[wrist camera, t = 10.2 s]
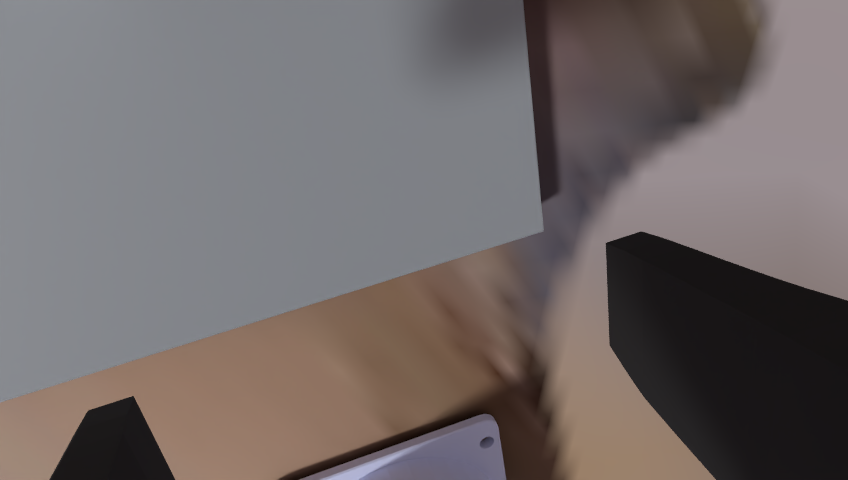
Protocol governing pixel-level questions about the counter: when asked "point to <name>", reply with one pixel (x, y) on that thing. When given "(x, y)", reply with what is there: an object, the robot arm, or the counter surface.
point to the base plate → (243, 163)
